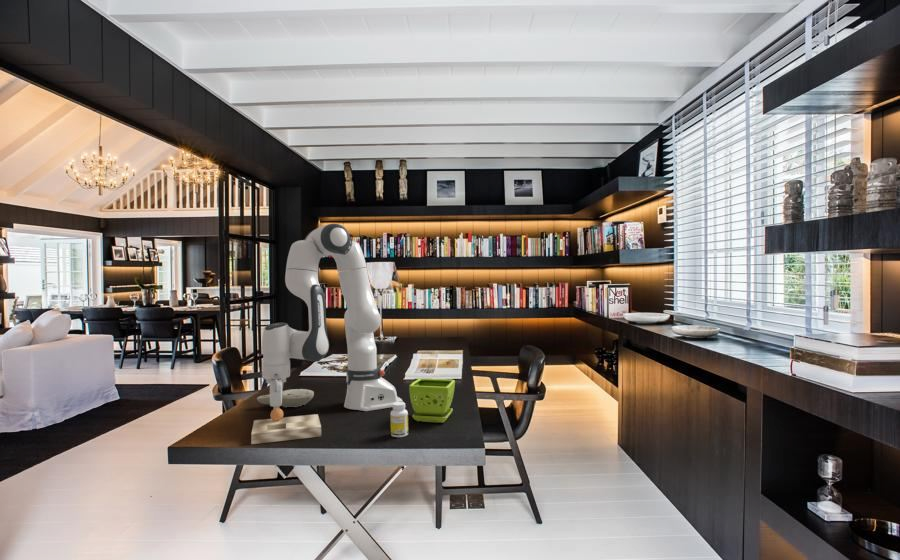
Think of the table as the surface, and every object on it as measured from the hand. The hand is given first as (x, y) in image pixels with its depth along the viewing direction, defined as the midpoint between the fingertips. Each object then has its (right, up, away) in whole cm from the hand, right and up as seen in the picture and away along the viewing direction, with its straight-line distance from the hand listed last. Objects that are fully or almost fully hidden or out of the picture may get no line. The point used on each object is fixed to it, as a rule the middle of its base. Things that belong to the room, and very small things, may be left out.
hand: (276, 413), depth 159 cm
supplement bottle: (+42, -4, -11) cm, 44 cm away
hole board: (+6, -4, -8) cm, 11 cm away
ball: (+2, +1, -4) cm, 5 cm away
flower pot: (+52, -4, +6) cm, 53 cm away
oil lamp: (-6, -5, +25) cm, 26 cm away
